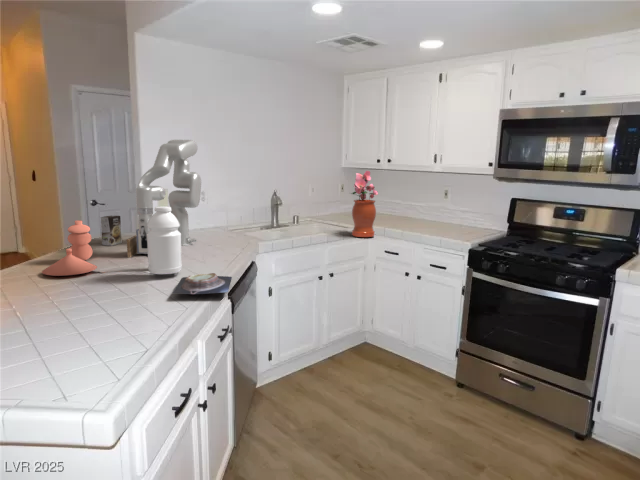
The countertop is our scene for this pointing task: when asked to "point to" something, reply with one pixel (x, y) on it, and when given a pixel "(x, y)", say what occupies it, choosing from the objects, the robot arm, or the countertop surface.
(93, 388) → the countertop surface
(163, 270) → the bottle
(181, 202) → the robot arm
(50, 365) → the countertop surface
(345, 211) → the countertop surface
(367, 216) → the potted flower
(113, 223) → the coffee box
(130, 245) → the oak shelf
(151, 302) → the countertop surface
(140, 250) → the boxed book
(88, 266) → the ceramic vessels
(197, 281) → the quiche
